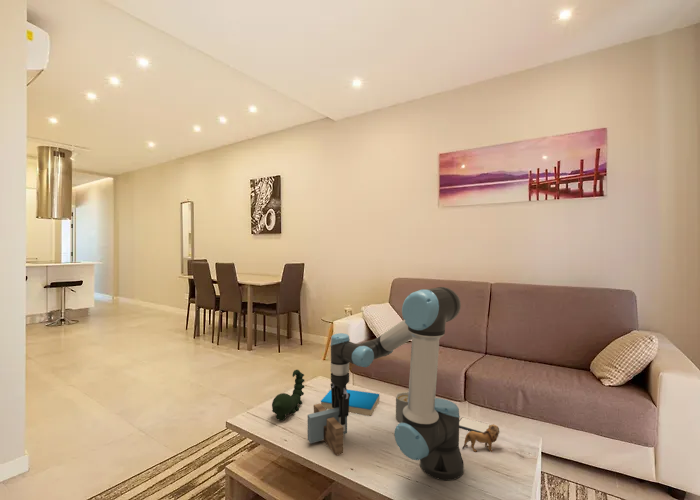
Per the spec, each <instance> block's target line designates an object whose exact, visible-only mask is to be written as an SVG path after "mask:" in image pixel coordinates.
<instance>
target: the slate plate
mask: <svg viewBox="0 0 700 500" xmlns="http://www.w3.org/2000/svg"><path fill="white" fill-rule="evenodd" d="M338 415H340V412H339V407H337V408H333V409H326V410H325V411H321V412H317V413H314V412H313V413H309V414H307V441H308V442H309V444H314V443H318V442H321V441H324V426H326V425H327V419H328V418H332V417H334V418H335V419H336V420H337V421H338V422H339V417H338ZM347 433H348V416H347V417H345V431H344V432H343V435H346V434H347Z"/></svg>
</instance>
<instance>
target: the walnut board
mask: <svg viewBox="0 0 700 500" xmlns="http://www.w3.org/2000/svg"><path fill="white" fill-rule="evenodd" d="M325 410H327V409H325V408H324V407H323V406H322V405H321V403H315V404H313V413H317V412H321V411H325ZM323 441H324V442H325V444H326V445H327V446H328V447H329V449H330V450H331V451H332V452H333V454H334V455H335V456H339V455H342V454H344V434H343V426H342V425H341V424H340V423H339V422H338V421H337V420H336V419H335V418H334V417H332V418H328V419H327V425H326V426H324V440H323Z"/></svg>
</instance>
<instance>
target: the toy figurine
mask: <svg viewBox="0 0 700 500" xmlns="http://www.w3.org/2000/svg"><path fill="white" fill-rule="evenodd" d="M304 376H305V374H304V373H303V372H301V371H300V370H299V369H294V370H293V372H292V378H294V377H295V378H294V379H295V380H294V384H293V390H292V394H291V395H290V394H288V393H285V392H283V393H279V394H277V395H276V396H275V397H274V398H273V400H272V403H271V409H272V410H271V411H272V412H273V413H274V414H275V416H276V417H275V418H276V420H277V421H280V422H282V421H284V420H286V418H287V415H289V414H291V415H294V414H295V413H296V411H300V406H301V405H303V401H302V396H304V394H305V393H304V391H303V389H305V385H304V384H303V383H304V382H305V381H306V380H305V379H304V378H303V377H304Z"/></svg>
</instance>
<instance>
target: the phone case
mask: <svg viewBox="0 0 700 500" xmlns="http://www.w3.org/2000/svg"><path fill="white" fill-rule="evenodd" d="M489 425H491V424H489V423H486V422H482V421H479V420H478V421H477V420H474V419H471V418H467V417H461V418H459V429H462V430H465V431H467V430H468V432H470V431H475V432H479V433H483V432H485V431H486V430H487V429H488V428H489ZM498 430H499V431H500V428H499V427H498Z"/></svg>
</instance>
